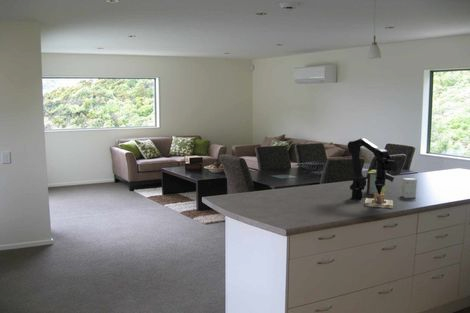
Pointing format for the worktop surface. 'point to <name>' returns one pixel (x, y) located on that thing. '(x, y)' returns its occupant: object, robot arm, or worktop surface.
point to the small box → (408, 188)
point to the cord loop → (379, 196)
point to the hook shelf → (384, 205)
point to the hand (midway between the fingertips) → (379, 193)
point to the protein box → (373, 183)
